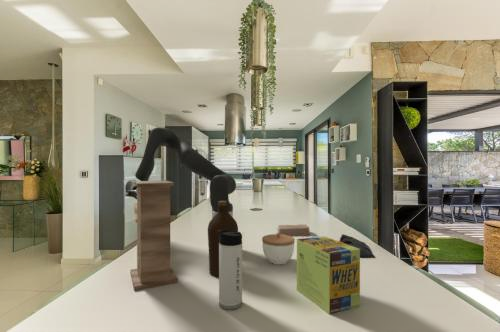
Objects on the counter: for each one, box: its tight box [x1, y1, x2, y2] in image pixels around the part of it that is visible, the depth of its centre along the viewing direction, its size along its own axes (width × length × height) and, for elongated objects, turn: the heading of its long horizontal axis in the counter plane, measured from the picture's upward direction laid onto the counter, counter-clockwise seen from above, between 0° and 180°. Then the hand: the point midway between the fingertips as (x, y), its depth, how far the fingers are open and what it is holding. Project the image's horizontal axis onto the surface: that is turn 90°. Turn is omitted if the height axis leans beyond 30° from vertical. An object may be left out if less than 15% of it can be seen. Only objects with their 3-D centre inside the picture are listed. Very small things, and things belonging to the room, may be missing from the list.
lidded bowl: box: [261, 232, 296, 265], centre depth 108 cm, size 13×13×11 cm
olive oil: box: [207, 201, 239, 278], centre depth 97 cm, size 11×11×25 cm
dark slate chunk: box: [338, 234, 376, 259], centre depth 123 cm, size 15×22×5 cm
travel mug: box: [218, 230, 243, 311], centre depth 74 cm, size 6×7×20 cm
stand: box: [130, 180, 179, 292], centre depth 92 cm, size 15×13×32 cm
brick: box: [277, 224, 311, 236], centre depth 151 cm, size 17×8×5 cm, turn 90°
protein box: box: [296, 236, 361, 315], centre depth 78 cm, size 10×15×16 cm
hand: (143, 194), depth 115 cm, fingers closed on paddle, 3 cm apart
